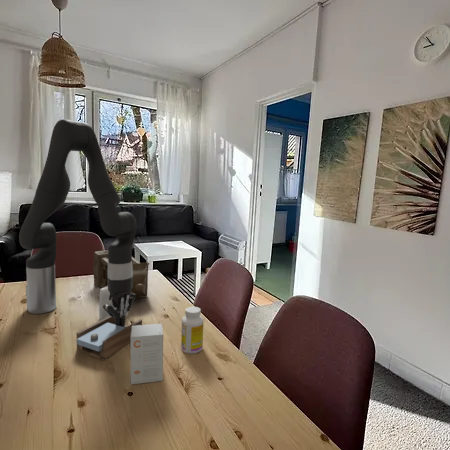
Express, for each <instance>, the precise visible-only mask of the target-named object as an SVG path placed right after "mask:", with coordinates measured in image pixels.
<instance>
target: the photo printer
mask: <svg viewBox="0 0 450 450" xmlns="http://www.w3.org/2000/svg"><path fill="white" fill-rule="evenodd" d="M109 296H110V292H109V291H108V286H107V287H104V288H102V289H100V288H99V299H98V300H99V305H98V306H99V308H98V309H99V310H98V313H99V314H98V315H99V316H98V319H99V321H101V320H103V319H104V318H106V317H108V316H110V315H109V314H108V313H107V311H106V310H105V309H104V308H103V306H104V305H107V303H108V302H109ZM128 315H129V311H127V313H126V315H125V317H128Z"/></svg>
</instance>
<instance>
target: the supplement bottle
mask: <svg viewBox="0 0 450 450" xmlns="http://www.w3.org/2000/svg"><path fill="white" fill-rule="evenodd" d="M201 312H202V311H201V308H200V307H198V306H189V307H186V308H185V312H184V313H185V315H184V316H183V317H182V319H181V337H180V338H181V340H180V346H181V350H182V351H183V352H184V353H186V354H192V355H193V354H198V353H200V352H201V351H202V350H203V347H204V346H203V345H204V318H203V316H202V315H201Z"/></svg>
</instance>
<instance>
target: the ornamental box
mask: <svg viewBox="0 0 450 450" xmlns="http://www.w3.org/2000/svg"><path fill="white" fill-rule="evenodd" d="M92 265H93V266H92V273H93V286H94V287H97V288H99V290H100V289H102V288H104V287H107V286H108V249H107V250H98V251H94V252H93V263H92ZM149 266H150V262H140V261H139V260H137V259H136V258H135V257H133V256H132V267H133V288H132V289H131V293H133V294H136V297H135V299H134V300H136V299H141V298H144V297H145V298H147V297H148V286H149V285H148V284H149V283H148V282H149Z"/></svg>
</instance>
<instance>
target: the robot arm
mask: <svg viewBox="0 0 450 450" xmlns="http://www.w3.org/2000/svg"><path fill="white" fill-rule="evenodd" d="M100 147H101V146H100V144H99V141H98V138H97V135H96V132H95V131H94V129H93V127H92V126H91V125H90V124H89V123H87V122H84V121H79V120H72V119H65V118H63V119H59V120H58V121H57V122H56V123H55V124H54V126H53V129H52V131H51V138H50V142H49V147H48V150H47V151H48V152H47V156H46V160H45V162H44V167H43V170H42V173H41V176H40V178H39V181H38V183H37V187H36V191H35V193H34V197H33V200H32V203H31V205H30V208H29V210H28V213H27V215H26V217H25V218H24V221H23V222H22V225H21V227H20V230H19V233H18V234H19V236H18V239H19V245H20V246H21V247H22V248H23V249H25V250H38V249H39V250H38V251H37V252H36V253H34V254H33V255H31V256H29V257H27V259H26V261H25V266H26V267H25V268H26V269H25V271H26V285H25V295H26V297H25V299H26V310H27V311H28V313H30V314H33V315H34V314H36V315H38V314H46V313H49V312H52V311H54V310H55V309H57V292H56V291H57V290H56V289H57V287H56V257H57V241H58V240H57V239H58V237H57V231H56V230H57V229H56V228H55V226H54V224H53V223H51V222H45V221H46V220H47V219H48V218H49V217H50V216H52V215H53V214H54V213H56V212H57V211H58V210H59V209H60V208H61V207H62V206H63V205H64V203H65V202H66V200H67V197H68V195H69V192H70V190H71V181H70V176H69V174H68V172H67V168H66V165H67V164H66V163H67V159H68V157H69V154H70V152H82V153H83V155H84V157H85V158H86V160H87V163H88V173H87V174H88V175H87V185H88V188H89V191H90V193H91V195H92V198H93V200H94V202H95V204H96V205H97V209H98V210H97V211H98V216H99V221H100V225H101V227H102V230H103V232H104V233H105V234H106V235H108V236H109V237H114V238H115V237H116V238H115V240H114V241H113V242H112V243H110V244H109V245H108V247H107V248H108V249H107V250H108V291H109V292H110V296H109V302H108V303H107V305H104V306H103V308H104V309H105V310H106V311H107V313H108V314H109V315H110V316H113V317H116V325H118V326H122V327H123V326H125V325H126V316H125V315H126V313H127V311H128V312H130V311H131V308H132V306H133V304H134V301H135V300H136V299H135V297H136V294H133V293H131V289H132V288H133V267H132V257H133V255H132V254H133V251H132V250H133V246H134V242H135V238H136V234H137V225H138V224H137V223H138V222H137V220H136V219H137V218H136V217H135V216H134V214H133V213H132V212H129V211H121V212H118V211H117V209H116V207H118V206H119V205H120V203H121V198H120V196H119V194H118V191H117V189H116V187H115V185H114V184H113V181H112V179H111V177H110V175H109V172H108V169H107V167H106V164H105V160H104V156H103V154H102V151H101V148H100Z"/></svg>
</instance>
